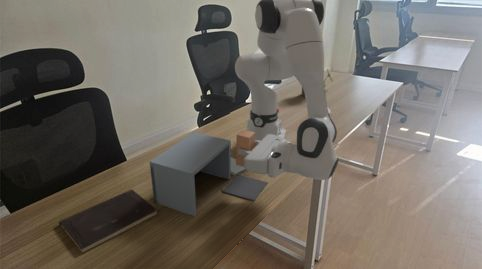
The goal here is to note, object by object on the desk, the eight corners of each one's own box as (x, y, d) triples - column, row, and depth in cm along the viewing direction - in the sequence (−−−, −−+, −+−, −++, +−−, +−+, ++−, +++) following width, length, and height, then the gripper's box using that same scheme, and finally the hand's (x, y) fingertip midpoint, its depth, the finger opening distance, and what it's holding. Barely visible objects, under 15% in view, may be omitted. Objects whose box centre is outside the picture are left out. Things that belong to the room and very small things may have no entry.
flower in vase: (326, 120, 172) (333, 73, 162) (306, 115, 178) (311, 70, 167) (334, 112, 182) (340, 68, 172) (314, 108, 188) (319, 65, 177)
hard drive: (250, 165, 126) (227, 154, 134) (236, 173, 121) (213, 161, 128) (250, 169, 127) (227, 158, 135) (235, 177, 121) (213, 165, 129)
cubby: (195, 168, 126) (193, 132, 120) (230, 177, 120) (230, 140, 114) (154, 202, 106) (149, 161, 100) (194, 216, 100) (191, 173, 94)
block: (241, 158, 112) (242, 129, 107) (253, 161, 110) (255, 132, 106) (236, 164, 108) (236, 134, 104) (248, 168, 107) (249, 137, 102)
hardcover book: (158, 215, 101) (157, 209, 100) (82, 255, 86) (80, 248, 85) (131, 194, 111) (130, 188, 110) (59, 226, 96) (58, 220, 95)
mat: (237, 175, 122) (237, 174, 122) (267, 183, 117) (267, 182, 117) (222, 191, 112) (222, 190, 112) (254, 201, 107) (254, 200, 107)
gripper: (294, 134, 109) (256, 126, 114) (272, 162, 92) (228, 151, 97) (292, 151, 112) (255, 142, 117) (271, 181, 95) (228, 169, 100)
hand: (243, 146), depth 107 cm, fingers closed on block, 4 cm apart
